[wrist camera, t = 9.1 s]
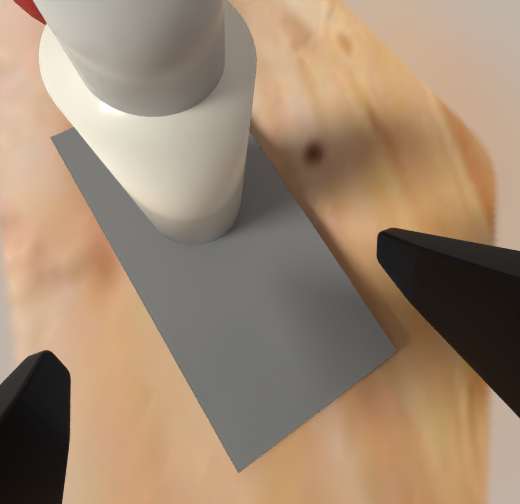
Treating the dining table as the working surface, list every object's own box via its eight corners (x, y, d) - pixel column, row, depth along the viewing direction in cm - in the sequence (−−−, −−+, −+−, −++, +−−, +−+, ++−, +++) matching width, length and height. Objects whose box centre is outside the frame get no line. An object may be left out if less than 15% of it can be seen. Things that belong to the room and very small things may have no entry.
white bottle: (259, 199, 17) (338, -92, 5) (193, 264, 16) (81, 92, 4) (194, 140, 17) (118, -270, 5) (125, 199, 16) (-182, -154, 4)
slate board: (388, 349, 17) (397, 351, 16) (237, 462, 15) (238, 473, 14) (208, 81, 20) (208, 69, 19) (60, 147, 18) (50, 137, 17)
